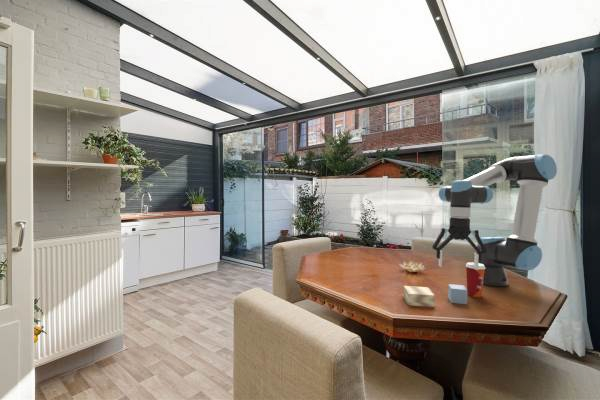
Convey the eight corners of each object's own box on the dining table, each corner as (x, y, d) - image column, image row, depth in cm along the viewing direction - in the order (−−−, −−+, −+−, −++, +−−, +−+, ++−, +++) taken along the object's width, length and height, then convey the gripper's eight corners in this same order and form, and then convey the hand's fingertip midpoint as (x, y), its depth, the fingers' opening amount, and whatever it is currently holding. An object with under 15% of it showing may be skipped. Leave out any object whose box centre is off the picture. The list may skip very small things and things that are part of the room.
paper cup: (484, 299, 127) (485, 267, 127) (464, 295, 131) (465, 264, 131) (484, 294, 134) (485, 263, 133) (465, 290, 138) (466, 261, 137)
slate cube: (463, 299, 128) (463, 285, 127) (466, 304, 122) (467, 290, 122) (448, 297, 129) (448, 284, 129) (450, 302, 123) (451, 288, 123)
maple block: (427, 298, 128) (427, 287, 128) (434, 307, 119) (434, 295, 118) (403, 297, 130) (403, 285, 130) (408, 305, 120) (408, 293, 120)
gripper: (490, 218, 124) (488, 268, 125) (426, 215, 131) (424, 262, 132) (497, 219, 117) (494, 272, 118) (428, 216, 124) (427, 267, 125)
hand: (457, 267), depth 125 cm, fingers open, 13 cm apart
